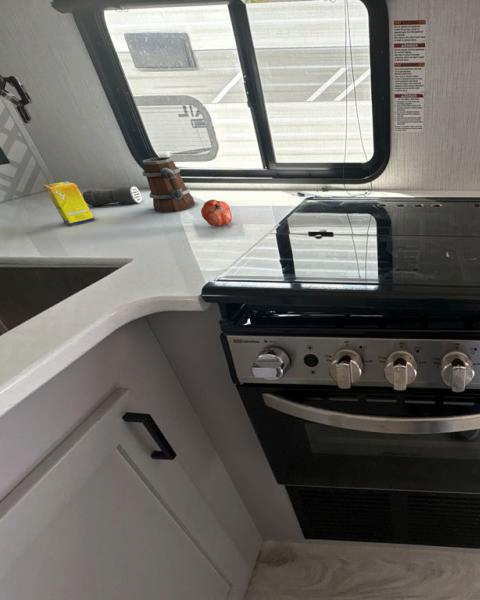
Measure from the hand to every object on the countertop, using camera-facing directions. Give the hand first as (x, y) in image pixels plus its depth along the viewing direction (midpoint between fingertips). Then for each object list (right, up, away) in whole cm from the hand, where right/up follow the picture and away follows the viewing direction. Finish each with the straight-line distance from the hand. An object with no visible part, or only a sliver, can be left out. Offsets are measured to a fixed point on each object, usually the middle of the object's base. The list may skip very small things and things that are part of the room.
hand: (6, 123), depth 86 cm
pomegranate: (+52, -25, +8) cm, 58 cm away
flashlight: (+4, -13, +29) cm, 32 cm away
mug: (+29, -16, +23) cm, 41 cm away
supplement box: (+6, -22, +14) cm, 27 cm away
